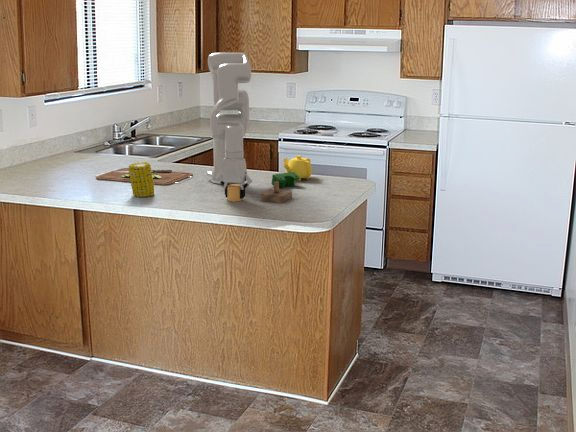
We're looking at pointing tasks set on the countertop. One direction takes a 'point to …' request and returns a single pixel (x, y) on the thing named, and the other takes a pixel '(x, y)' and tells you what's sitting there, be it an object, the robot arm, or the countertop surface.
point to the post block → (276, 194)
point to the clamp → (285, 179)
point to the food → (141, 179)
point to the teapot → (299, 167)
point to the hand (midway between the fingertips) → (235, 197)
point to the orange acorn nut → (233, 192)
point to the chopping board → (158, 176)
